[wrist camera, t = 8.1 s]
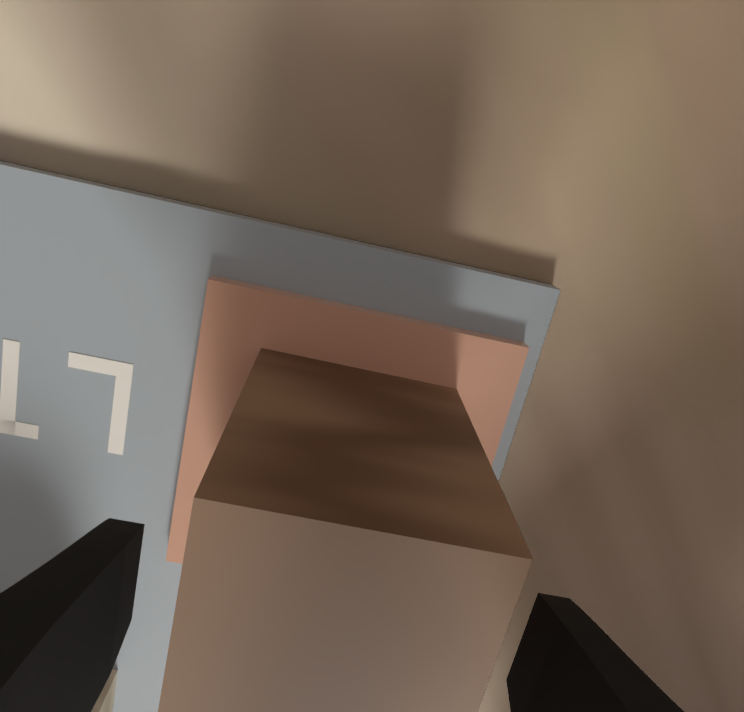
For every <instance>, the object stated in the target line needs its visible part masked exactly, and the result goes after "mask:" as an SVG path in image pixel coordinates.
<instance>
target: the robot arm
mask: <svg viewBox="0 0 744 712" xmlns="http://www.w3.org/2000/svg"><path fill="white" fill-rule="evenodd" d="M144 526H145V524H141V523H135V522H130V521H124V520H118V519H112V518H108V519H107V520H105V521H104V522H102V523H101V524H99V525H98V526H96V527H95V528H93V529H92V530H91V531H89V532H88V533H87V534H85V535H84V536H82V537H81V538H80V539H78V540H77V541H76V542H74V543H73V544H71V545H70V546H69V547H67V548H66V549H64V550H63V551H62V552H60V553H59V554H57V555H56V556H55V557H53V558H52V559H50V560H49V561H48V562H46V563H45V564H43V565H42V566H40V567H39V568H37V569H36V570H34V571H33V572H31V573H30V574H28V575H27V576H25V577H24V578H22V579H21V580H19V581H18V582H17V583H15V584H14V585H12V586H10V587H9V588H7V589H6V590H4V591H3V592H1V593H0V712H91V711H92V709H93V707H94V705H95V703H96V701H97V699H98V697H99V695H100V694H101V692H102V690H103V688H104V686H105V684H106V682H107V680H108V678H109V676H110V674H111V671H112V669H113V666H114V664H115V661H116V659H117V656H118V654H119V651H120V649H121V646H122V643H123V641H124V638H125V636H126V633H127V630H128V628H129V625H130V623H131V620H132V613H133V606H134V599H135V591H136V584H137V577H138V569H139V562H140V555H141V548H142V540H143V533H144ZM507 687H508V694H509V701H510V708H511V712H684V711H683V710H682V709H681V708H680V707H678V706H677V705H676V704H675V703H674V702H673V701H672V700H671V699H670V698H669V697H668V696H667V695H666V694H665V693H664V692H663V691H662V690H661V689H660V688H659V687H658V686H657V685H656V684H655V683H654V682H653V681H652V680H651V679H650V678H649V677H648V676H647V675H646V674H645V673H644V672H643V671H642V670H641V669H640V668H639V667H638V666H637V665H636V664H635V663H634V662H633V661H632V660H631V659H630V658H629V657H628V656H627V655H626V654H625V653H624V652H623V651H622V650H621V649H620V648H619V647H618V646H617V645H616V644H615V643H614V642H613V641H612V639H611V638H610V637H609V636H608V635H607V634H606V633H605V632H604V631H603V630H602V629H601V628H600V627H599V626H598V625H597V624H596V623H595V622H594V621H593V620H592V619H591V618H590V617H589V616H588V615H587V614H586V613H585V612H584V611H583V610H582V609H581V608H580V607H578V606H577V605H576V604H575V603H574V602H573V601H572V600H571V599H569V598H564V597H558V596H552V595H547V594H541V593H538V595H537V598H536V600H535V603H534V606H533V609H532V611H531V614H530V617H529V620H528V622H527V625H526V628H525V631H524V633H523V636H522V639H521V642H520V644H519V647H518V650H517V652H516V655H515V658H514V661H513V663H512V666H511V669H510V672H509V674H508V677H507Z"/></svg>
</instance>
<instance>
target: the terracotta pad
mask: <svg viewBox="0 0 744 712" xmlns="http://www.w3.org/2000/svg"><path fill="white" fill-rule="evenodd" d="M261 348H265V349H269V350H274V351H279V352H284V353H288V354H293V355H298V356H303V357H307V358H312V359H317V360H322V361H326V362H331V363H336V364H341V365H345V366H350V367H355V368H360V369H365V370H369V371H374V372H379V373H384V374H388V375H393V376H398V377H403V378H407V379H412V380H417V381H422V382H426V383H431V384H436V385H441V386H445V387H450V388H455V389H457V391H458V393H459V395H460V398H461V400H462V402H463V404H464V407H465V409H466V411H467V413H468V415H469V418H470V420H471V422H472V424H473V427H474V429H475V431H476V433H477V436H478V438H479V440H480V442H481V445H482V447H483V449H484V451H485V453H486V456H487V458H488V460H489V462H490V465H491V467H492V464H493V461H494V457H495V454H496V451H497V448H498V445H499V442H500V439H501V435H502V432H503V429H504V426H505V423H506V420H507V417H508V413H509V410H510V407H511V404H512V401H513V398H514V394H515V391H516V388H517V385H518V382H519V379H520V376H521V372H522V369H523V366H524V363H525V360H526V357H527V354H528V350H529V347H528V346H527V345H526V344H525V343H524V342H522V341H517V340H512V339H508V338H503V337H498V336H494V335H489V334H484V333H480V332H475V331H470V330H466V329H461V328H456V327H452V326H447V325H442V324H438V323H433V322H428V321H424V320H419V319H414V318H410V317H405V316H400V315H396V314H391V313H386V312H382V311H377V310H372V309H368V308H363V307H358V306H354V305H349V304H344V303H340V302H335V301H330V300H326V299H321V298H316V297H312V296H307V295H302V294H298V293H293V292H288V291H284V290H279V289H274V288H270V287H265V286H260V285H256V284H251V283H246V282H242V281H237V280H232V279H228V278H223V277H218V276H214V275H212V276H211V277H210V278H209V279H208V282H207V289H206V296H205V302H204V309H203V316H202V322H201V329H200V336H199V342H198V349H197V356H196V362H195V369H194V375H193V382H192V389H191V395H190V402H189V409H188V415H187V422H186V429H185V435H184V442H183V449H182V455H181V462H180V469H179V475H178V482H177V488H176V495H175V502H174V508H173V515H172V522H171V528H170V535H169V542H168V548H167V555H166V561H169V562H175V563H181V564H183V558H184V552H185V546H186V540H187V534H188V528H189V522H190V516H191V510H192V505H193V499H194V496H195V493H196V491H197V489H198V487H199V485H200V482H201V480H202V478H203V476H204V473H205V471H206V469H207V467H208V465H209V462H210V460H211V458H212V456H213V453H214V451H215V449H216V447H217V445H218V442H219V440H220V438H221V436H222V433H223V431H224V429H225V427H226V425H227V422H228V420H229V418H230V416H231V413H232V411H233V409H234V407H235V405H236V402H237V400H238V398H239V396H240V393H241V391H242V389H243V387H244V385H245V382H246V380H247V378H248V376H249V373H250V371H251V369H252V367H253V365H254V362H255V360H256V358H257V356H258V354H259V351H260V349H261Z"/></svg>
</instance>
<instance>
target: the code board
mask: <svg viewBox="0 0 744 712" xmlns="http://www.w3.org/2000/svg"><path fill="white" fill-rule="evenodd" d="M212 275H214V276H218V277H223V278H228V279H232V280H237V281H242V282H246V283H251V284H256V285H260V286H265V287H270V288H274V289H279V290H284V291H288V292H293V293H298V294H302V295H307V296H312V297H316V298H321V299H326V300H330V301H335V302H340V303H344V304H349V305H354V306H358V307H363V308H368V309H372V310H377V311H382V312H386V313H391V314H396V315H400V316H405V317H410V318H414V319H419V320H424V321H428V322H433V323H438V324H442V325H447V326H452V327H456V328H461V329H466V330H470V331H475V332H480V333H484V334H489V335H494V336H498V337H503V338H508V339H512V340H517V341H522V342H524V343H525V344H526V345H527V346H528V347H529V350H528V354H527V357H526V360H525V363H524V366H523V369H522V372H521V376H520V379H519V382H518V385H517V388H516V391H515V394H514V398H513V401H512V404H511V407H510V410H509V413H508V417H507V420H506V423H505V426H504V429H503V432H502V435H501V439H500V442H499V445H498V448H497V451H496V454H495V457H494V461H493V464H492V469H493V471H494V474H495V476H496V478H497V480H498V482H499V479H500V476H501V472H502V469H503V466H504V463H505V460H506V457H507V454H508V451H509V448H510V445H511V442H512V439H513V435H514V432H515V429H516V426H517V423H518V420H519V417H520V414H521V411H522V408H523V405H524V402H525V398H526V395H527V392H528V389H529V386H530V383H531V380H532V377H533V374H534V371H535V368H536V364H537V361H538V358H539V355H540V352H541V349H542V346H543V343H544V340H545V337H546V334H547V331H548V327H549V324H550V321H551V318H552V315H553V312H554V309H555V306H556V303H557V300H558V297H559V294H560V289H558V288H557V287H555V286H554V285H550V284H546V283H541V282H537V281H532V280H528V279H524V278H519V277H515V276H510V275H506V274H501V273H497V272H492V271H488V270H484V269H479V268H475V267H470V266H466V265H461V264H457V263H452V262H448V261H444V260H439V259H435V258H430V257H426V256H421V255H417V254H412V253H408V252H404V251H399V250H395V249H390V248H386V247H381V246H377V245H372V244H368V243H364V242H359V241H355V240H350V239H346V238H341V237H337V236H332V235H328V234H324V233H319V232H315V231H310V230H306V229H301V228H297V227H292V226H288V225H284V224H279V223H275V222H270V221H266V220H261V219H257V218H252V217H248V216H244V215H239V214H235V213H230V212H226V211H221V210H217V209H212V208H208V207H204V206H199V205H195V204H190V203H186V202H181V201H177V200H172V199H168V198H164V197H159V196H155V195H150V194H146V193H141V192H137V191H132V190H128V189H124V188H119V187H115V186H110V185H106V184H101V183H97V182H92V181H88V180H83V179H79V178H75V177H70V176H66V175H61V174H57V173H52V172H48V171H43V170H39V169H35V168H30V167H26V166H21V165H17V164H12V163H8V162H3V161H0V593H1V592H3V591H4V590H6V589H7V588H9V587H10V586H12V585H14V584H15V583H17V582H18V581H19V580H21V579H22V578H24V577H25V576H27V575H28V574H30V573H31V572H33V571H34V570H36V569H37V568H39V567H40V566H42V565H43V564H45V563H46V562H48V561H49V560H50V559H52V558H53V557H55V556H56V555H57V554H59V553H60V552H62V551H63V550H64V549H66V548H67V547H69V546H70V545H71V544H73V543H74V542H76V541H77V540H78V539H80V538H81V537H82V536H84V535H85V534H87V533H88V532H89V531H91V530H92V529H93V528H95V527H96V526H98V525H99V524H101V523H102V522H104V521H105V520H107V519H108V518H112V519H118V520H124V521H130V522H135V523H141V524H145V526H144V533H143V540H142V548H141V555H140V562H139V569H138V577H137V584H136V591H135V599H134V606H133V613H132V620H131V623H130V625H129V628H128V630H127V633H126V636H125V638H124V641H123V643H122V646H121V649H120V651H119V654H118V656H117V659H116V661H115V664H114V666H113V669H115V670H118V673H117V680H116V688H115V695H114V703H113V711H112V712H158V708H159V702H160V696H161V690H162V684H163V678H164V672H165V666H166V660H167V654H168V648H169V642H170V636H171V630H172V624H173V618H174V612H175V606H176V600H177V594H178V588H179V582H180V576H181V570H182V564H181V563H175V562H169V561H166V555H167V548H168V542H169V535H170V528H171V522H172V515H173V508H174V502H175V495H176V488H177V482H178V475H179V469H180V462H181V455H182V449H183V442H184V435H185V429H186V422H187V415H188V409H189V402H190V395H191V389H192V382H193V375H194V369H195V362H196V356H197V349H198V342H199V336H200V329H201V322H202V316H203V309H204V302H205V296H206V289H207V282H208V279H209V278H210V277H211V276H212Z"/></svg>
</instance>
